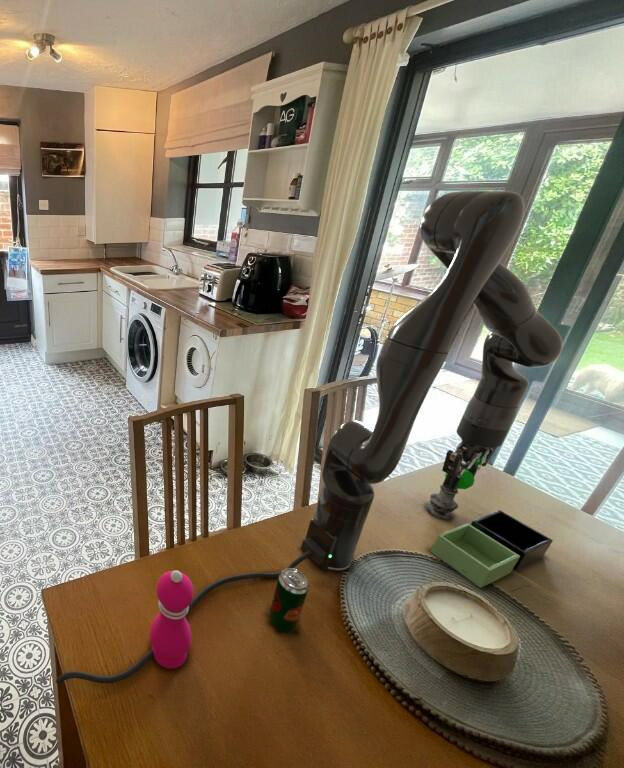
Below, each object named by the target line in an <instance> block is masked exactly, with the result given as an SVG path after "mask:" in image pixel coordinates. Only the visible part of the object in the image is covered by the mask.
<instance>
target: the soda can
mask: <svg viewBox="0 0 624 768" xmlns="http://www.w3.org/2000/svg"><path fill="white" fill-rule="evenodd" d="M282 571H283V572H281V571H280V572H281V573H280V574H279V577H278V578H277V581H276V586H275V589H274V594H273V598H272V601H271V605H270V610H269V613H268V618H269V621H270V623H271V625H273V626H274V628H275V629H277V630H278V631H281V632H283V633H292V632H295V631H296V629H297V628H298V625H299V622H300V618H301V615H302V611H303V608H304V605H305V602H306V599H307V595H308V592H309V582H308V578H307V576H306V575H305V574H304V573H303V572H302V571H300V570H299V569H296V568H294V569H293V568H288V567H286V568H285V569H283V570H282Z"/></svg>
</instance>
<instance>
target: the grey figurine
mask: <svg viewBox="0 0 624 768" xmlns="http://www.w3.org/2000/svg"><path fill="white" fill-rule="evenodd" d="M439 486H440V487H439V488H440V490H439V492H437V493H436V492H434V493H430V495H429V503H430V504H427V506H426V511H427V512H428V513H429V514H431V515H432V516H433V517H436V518H438V519H442V520H451V519H452V517H453V515H452V512H454V511H455V510H457V509H459V503H458V502H457V501H456V500H455V497H456V495H458V494H459V489H455V490H450V489H448V488H446V487H444V486H443V484H441V485H439Z"/></svg>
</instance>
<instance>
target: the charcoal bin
mask: <svg viewBox="0 0 624 768" xmlns="http://www.w3.org/2000/svg"><path fill="white" fill-rule="evenodd" d="M470 525H471V526H473V527H475V528H476V529H478V530H479V531H481V532H483V533H484V534H486V535H487V536H489V537H491V538H492V539H494V540H495V541H497V542H499V543H500V544H502V545H503V546H505V547H506V548H508V549H510V550H511V551H513V552H514V553H516V554H518V555H519V556H520V558H519V559H518V561H517V563H516V564H515V566H514V568H513V569H512V570H513V571H518V570H519V569H521V568H524V567H525V566H527V565H529V564H531V563H534V562H535V561H537V560H540V559H541V558H543V557H544V556H545V554H546V552H547V551H548V549H549V548H550V546H551V544H552V543H553V541H554V540H553V539H552V538H550V537H548V536H547V535H544V534H543V533H541V532H539V531H538V530H535V529H534V528H532V527H530V526H529V525H527V524H526V523H523V522H522V521H520V520H519V519H517V518H514V517H513V516H511V515H509V514H507V513H506V512H505V511H503V510H500V509H499V510H497V511H496V510H495V511H494V512H491V513H489V514H486V515H484V516H482V517H479V518H477V519H475V520H472V521H471V523H470Z"/></svg>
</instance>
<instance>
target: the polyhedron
mask: <svg viewBox="0 0 624 768" xmlns="http://www.w3.org/2000/svg"><path fill="white" fill-rule="evenodd" d="M460 469H461V467H460ZM460 469H459V470H460ZM444 473H445V474H444V479H445V478H446V476H447V473H446V472H444ZM474 484H475V476H474V477H473V474H472V473H471V472H470V471H468V470H467V469H466V470H465V472H464V473H463V474H462V476H461V478H460V480H459V482H458V485H457V487H456V489H457V490H467V489H469V488H472V486H474Z"/></svg>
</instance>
